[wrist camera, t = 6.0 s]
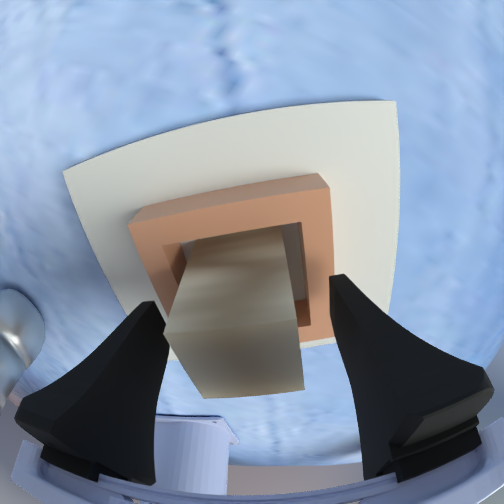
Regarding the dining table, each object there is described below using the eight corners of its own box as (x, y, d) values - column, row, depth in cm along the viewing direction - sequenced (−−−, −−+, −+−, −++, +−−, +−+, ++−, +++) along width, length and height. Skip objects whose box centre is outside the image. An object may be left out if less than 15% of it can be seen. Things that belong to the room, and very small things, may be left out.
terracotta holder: (193, 328, 16) (187, 354, 14) (143, 206, 12) (127, 224, 10) (327, 311, 15) (334, 336, 14) (318, 173, 11) (329, 187, 10)
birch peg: (217, 303, 15) (203, 398, 10) (195, 239, 13) (163, 333, 8) (290, 292, 15) (304, 389, 10) (280, 225, 13) (296, 318, 8)
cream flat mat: (158, 350, 19) (155, 360, 18) (72, 166, 12) (62, 171, 11) (379, 321, 17) (384, 332, 16) (386, 100, 10) (395, 101, 9)
